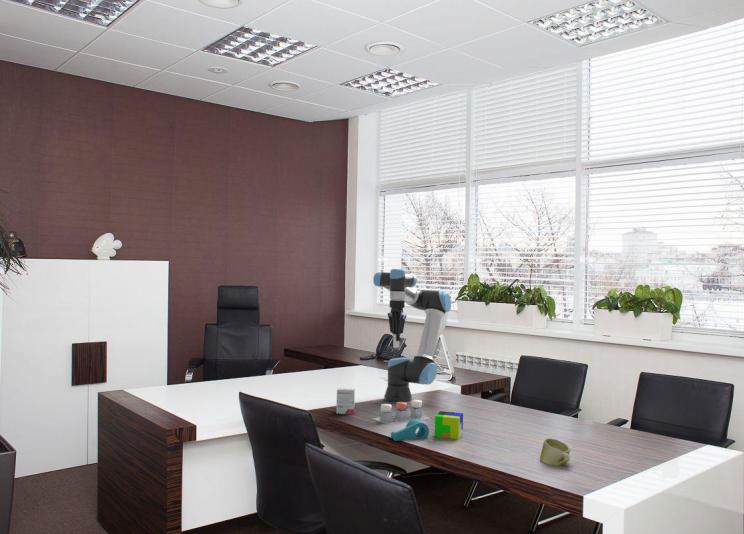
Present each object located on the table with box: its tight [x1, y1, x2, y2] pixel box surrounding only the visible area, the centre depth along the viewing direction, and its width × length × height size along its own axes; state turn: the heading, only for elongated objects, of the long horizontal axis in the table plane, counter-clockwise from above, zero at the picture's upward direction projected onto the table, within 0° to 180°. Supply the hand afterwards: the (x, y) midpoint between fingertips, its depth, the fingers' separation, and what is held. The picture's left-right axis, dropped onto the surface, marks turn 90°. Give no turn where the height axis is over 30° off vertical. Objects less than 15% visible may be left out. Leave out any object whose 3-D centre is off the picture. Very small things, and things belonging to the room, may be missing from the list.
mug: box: [539, 437, 571, 466], centre depth 225 cm, size 12×10×10 cm
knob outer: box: [380, 403, 393, 413], centre depth 286 cm, size 5×5×7 cm
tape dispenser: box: [390, 419, 430, 442], centre depth 259 cm, size 7×15×8 cm, turn 108°
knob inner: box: [410, 399, 423, 408], centre depth 297 cm, size 5×5×7 cm
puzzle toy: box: [434, 410, 464, 440], centre depth 263 cm, size 10×10×10 cm
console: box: [372, 406, 431, 426], centre depth 292 cm, size 24×13×5 cm, turn 125°
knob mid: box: [395, 402, 408, 411], centre depth 292 cm, size 5×5×7 cm
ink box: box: [335, 388, 356, 415], centre depth 304 cm, size 9×5×12 cm, turn 84°
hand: (396, 347), depth 308 cm, fingers closed
